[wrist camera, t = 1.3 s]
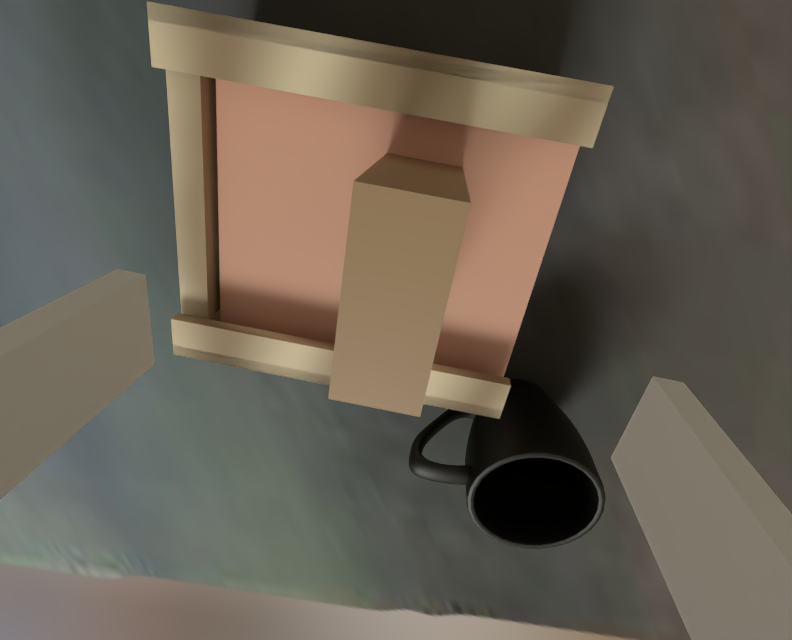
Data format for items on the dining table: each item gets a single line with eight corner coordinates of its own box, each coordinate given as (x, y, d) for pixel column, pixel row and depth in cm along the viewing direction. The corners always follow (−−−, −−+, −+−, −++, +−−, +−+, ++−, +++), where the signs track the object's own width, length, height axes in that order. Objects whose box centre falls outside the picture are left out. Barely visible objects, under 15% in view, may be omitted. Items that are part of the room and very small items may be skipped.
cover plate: (229, 317, 26) (130, 415, 18) (227, 53, 20) (75, 20, 12) (499, 370, 26) (523, 494, 18) (580, 118, 20) (675, 129, 12)
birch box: (247, 286, 33) (173, 354, 24) (250, 36, 26) (146, 1, 17) (485, 332, 33) (499, 418, 24) (555, 91, 25) (614, 86, 17)
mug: (432, 339, 33) (427, 420, 25) (585, 379, 34) (631, 473, 25) (406, 422, 37) (393, 517, 29) (543, 457, 37) (572, 562, 29)
